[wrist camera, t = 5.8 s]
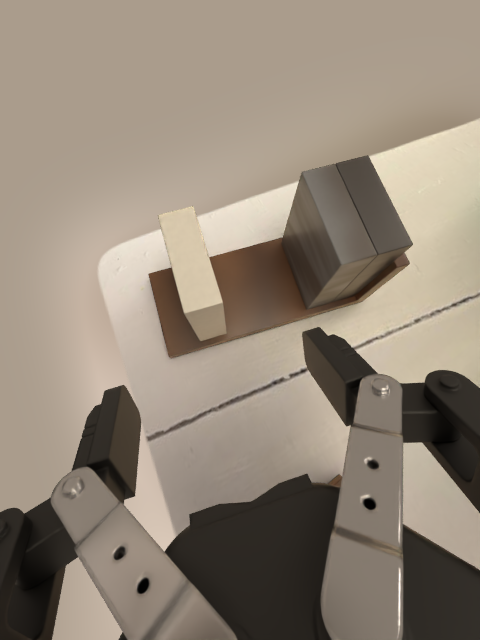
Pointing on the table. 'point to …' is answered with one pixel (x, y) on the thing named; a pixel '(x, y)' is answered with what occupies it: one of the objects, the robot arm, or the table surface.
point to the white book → (193, 273)
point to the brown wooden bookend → (300, 259)
